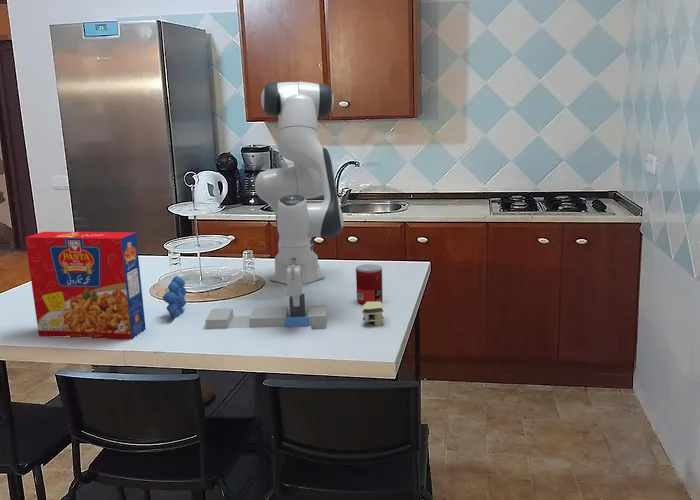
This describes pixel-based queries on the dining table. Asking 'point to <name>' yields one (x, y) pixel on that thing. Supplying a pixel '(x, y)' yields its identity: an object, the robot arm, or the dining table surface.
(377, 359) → the dining table surface
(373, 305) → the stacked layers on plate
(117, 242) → the pasta box
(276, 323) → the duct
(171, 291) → the grapes
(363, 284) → the canned food
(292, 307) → the dark grey rectangular box
